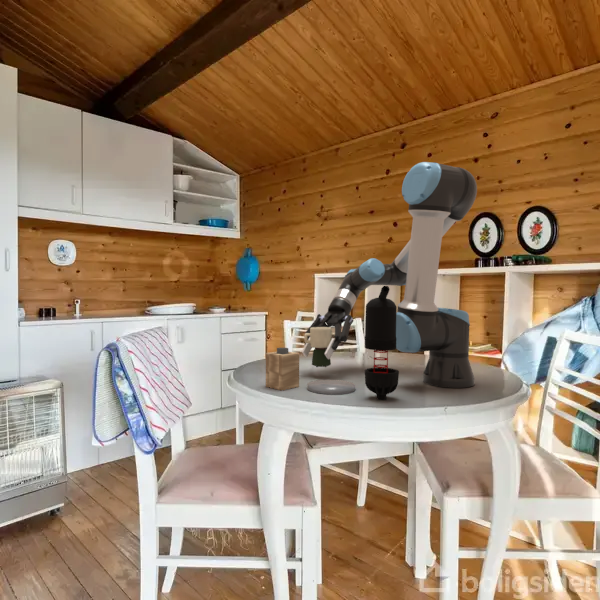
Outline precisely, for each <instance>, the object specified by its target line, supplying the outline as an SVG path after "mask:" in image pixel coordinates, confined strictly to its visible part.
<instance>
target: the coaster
mask: <svg viewBox="0 0 600 600" xmlns="http://www.w3.org/2000/svg"><path fill="white" fill-rule="evenodd" d="M306 389H308V390H307V391H309V392H311V393H315V394H320V395H331V396H332V395H335V396H336V395H348V394H351V392H352V393H354V392H355V391H356V384H355V383H353V382H351V381H347V380H341V379H339V380H338V379H318V380H311V381H309V382H307V384H306Z"/></svg>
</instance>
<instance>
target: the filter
mask: <svg viewBox="0 0 600 600" xmlns="http://www.w3.org/2000/svg"><path fill="white" fill-rule="evenodd" d="M389 292H390V287H389V285H382V287H381V289H380V293H379V295H378V297H375V298H372V299H370V300H369V301H368V302H367V303H366V305H365V324H364V327H365V328H364V331H365V332H364V349H366V350H371V351H373V367H369V368H366V369H364V384H365V386H366V388H367V389H368V390H369V391H370V392H372V393H374V394H376V399H377V400H378V401H379V400H380V401H384V400H386V399H387V395H389V394H391V393H393V392H395V390H396V389H397V387H398V386H399V377H400V376H399V375H400V371H399V370H398V369H395V368H389V357H388V356H389V351H395V350H397V349H396V344H397V343H396V340H397V339H396V313H397V310H398V306H397V304H396V303H395V302H394V301H393V300H392V299H389V298H387V297H388V295H389V294H390V293H389ZM375 353H378V354H385V353H386V357H383V356H379V357H376V355H375ZM375 361H386V364H376V362H375Z"/></svg>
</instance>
